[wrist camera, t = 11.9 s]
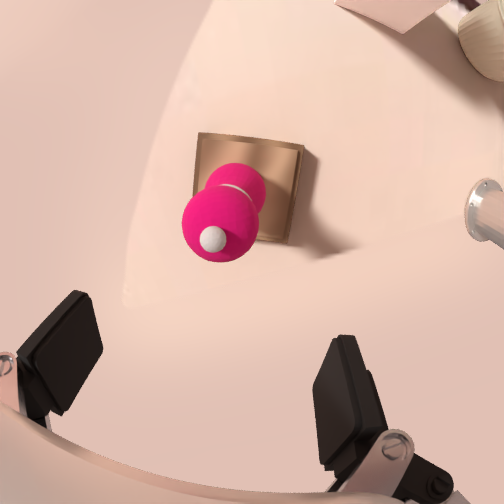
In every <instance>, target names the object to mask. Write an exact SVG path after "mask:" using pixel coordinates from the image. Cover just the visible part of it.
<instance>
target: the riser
mask: <svg viewBox="0 0 504 504" xmlns="http://www.w3.org/2000/svg"><path fill="white" fill-rule="evenodd" d="M303 150H304V145H300V144H294V143H288V142H282V141H275V140H268V139H261V138H253V137H245V136H236V135H226V134H214V133H198V141H197V151H196V161H195V172H194V185H193V197H194V196H195V195H196V194H197V193H198V192H200V191H201V190H203V189H204V188H205V185H206V182H207V180H208V178H209V177H210V175H211V174H212V173H213V172H214V171H215V170H216V169H217V168H219V167H221V166H223V165H225V164H229V163H242V164H245V165H248V166H250V167H252V168H253V169H255V170H256V171H257V172H258V173H259V175H260V176H261V177H262V179H263V181H264V184H265V187H266V199H265V202H264V205H263V207H262V209H261V211H260V212H259V213H258V217H259V231H258V234H257V237H256V239H259V240H266V241H273V242H281V243H287V242H288V236H289V231H290V226H291V220H292V215H293V209H294V204H295V198H296V192H297V186H298V181H299V175H300V169H301V163H302V156H303Z"/></svg>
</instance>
